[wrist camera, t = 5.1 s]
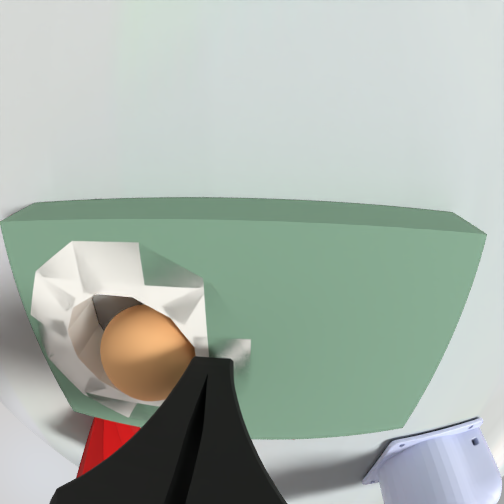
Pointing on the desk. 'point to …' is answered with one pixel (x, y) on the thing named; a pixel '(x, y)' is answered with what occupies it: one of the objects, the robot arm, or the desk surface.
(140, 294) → the green flat board
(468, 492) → the robot arm
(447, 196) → the desk surface
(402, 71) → the desk surface
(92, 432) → the gemstone
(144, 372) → the ball
